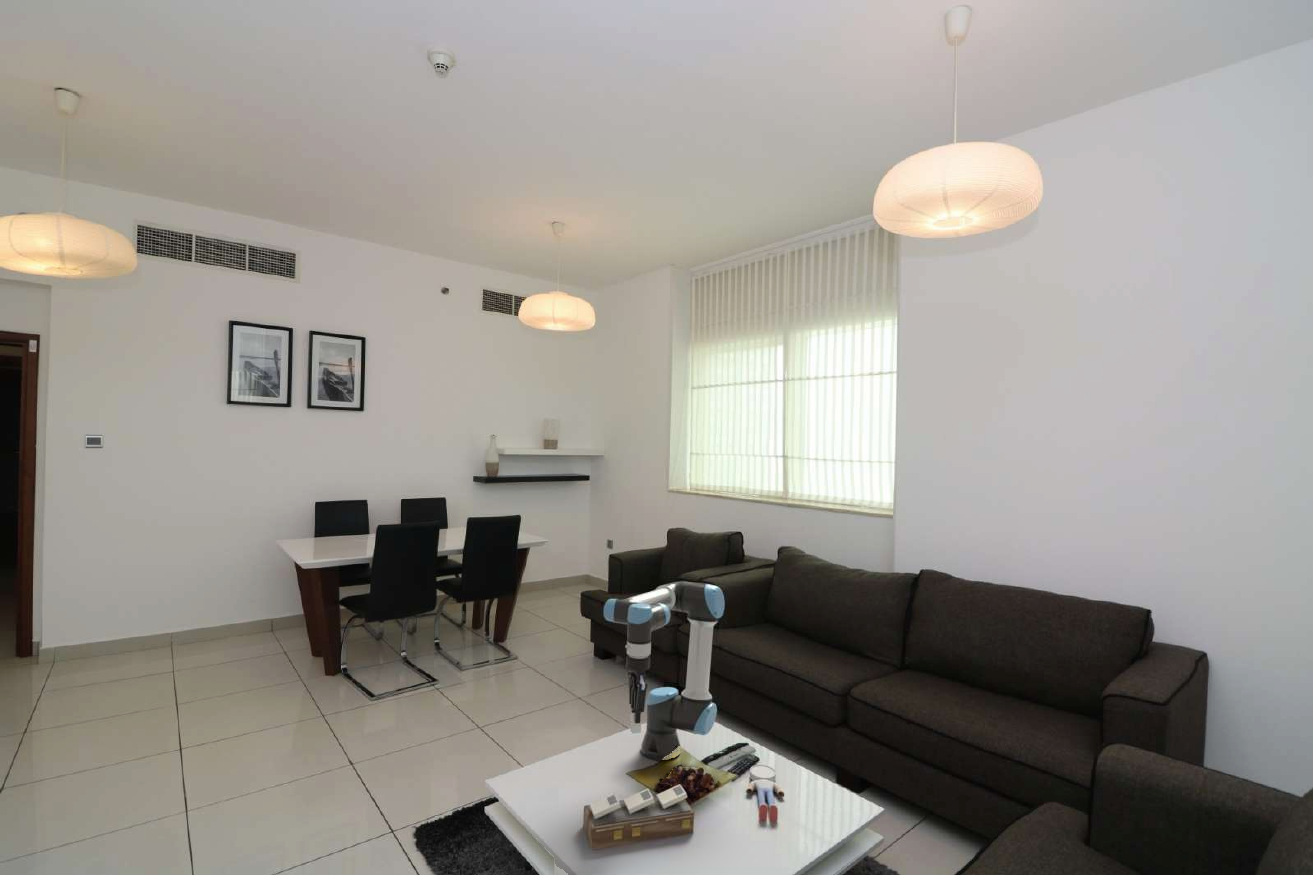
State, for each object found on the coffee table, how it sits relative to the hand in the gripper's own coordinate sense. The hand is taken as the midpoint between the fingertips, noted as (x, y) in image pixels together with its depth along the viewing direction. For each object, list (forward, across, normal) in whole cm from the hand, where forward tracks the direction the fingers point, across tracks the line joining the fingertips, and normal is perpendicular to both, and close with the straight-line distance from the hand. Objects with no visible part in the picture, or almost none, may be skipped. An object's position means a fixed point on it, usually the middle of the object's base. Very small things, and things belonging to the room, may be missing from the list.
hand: (635, 731), depth 193 cm
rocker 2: (+18, +6, +10) cm, 22 cm away
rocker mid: (+18, +6, 0) cm, 19 cm away
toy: (+27, -2, +47) cm, 54 cm away
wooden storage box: (+26, +6, 0) cm, 27 cm away
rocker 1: (+18, +6, -10) cm, 22 cm away
